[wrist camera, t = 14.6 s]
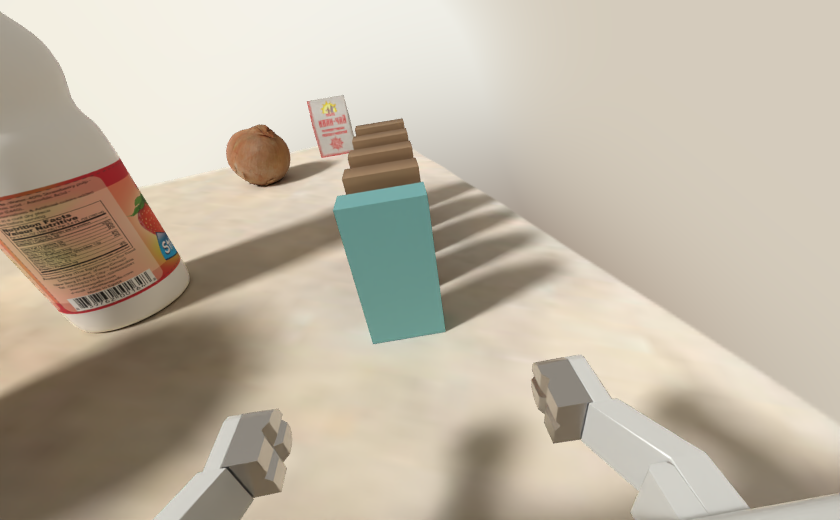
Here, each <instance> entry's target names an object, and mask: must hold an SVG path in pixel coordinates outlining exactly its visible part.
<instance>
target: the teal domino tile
mask: <svg viewBox="0 0 840 520" xmlns="http://www.w3.org/2000/svg"><path fill="white" fill-rule="evenodd" d="M333 212H334V215H335V219H336V222H337V225H338V229H339V232H340V235H341V239H342V242H343V245H344V249H345V252H346V255H347V259H348V262H349V265H350V269H351V272H352V275H353V279H354V282H355V285H356V289H357V292H358V295H359V298H360V302H361V305H362V308H363V312H364V315H365V318H366V322H367V325H368V328H369V332H370V335H371V338H372V342H373V344H377V343H382V342H388V341H394V340H400V339H406V338H412V337H418V336H423V335H429V334H435V333H441V332H446V331H445V324H444V316H443V309H442V301H441V294H440V286H439V279H438V271H437V264H436V256H435V249H434V241H433V234H432V226H431V219H430V211H429V204H428V197H427V192H426V189H425V186H424V183H423V182H420V183H414V184H408V185H402V186H396V187H390V188H384V189H378V190H372V191H366V192H360V193H354V194H348V195H342V196H337V199H336V202H335V206H334V209H333Z"/></svg>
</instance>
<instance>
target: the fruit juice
mask: <svg viewBox="0 0 840 520" xmlns="http://www.w3.org/2000/svg"><path fill="white" fill-rule="evenodd" d="M0 249H1V250H2V251H3V252H4V253H5V254H6V255H7V257H8V258H9V259H10V260H11V261H12V262H13V263H14V264H15V265H16V266H17V267H18V268H19V269H20V270H21V271H22V272H23V274H24V275H25V276H26V277H27V278H28V279H29V280H30V281H31V282H32V283H33V284H34V285H35V286H36V287H37V288H38V290H39V291H40V292H41V293H42V294H43V295H44V296H45V297H46V298H47V299H48V300H49V301H50V302H51V303H52V304H53V305H54V307H55V308H56V309H57V310H58V311H59V312H60V313H61V314H62V315H63V316H64V317H65V318H66V319H67V320H68V321H69V322H70V323H71V324H72V325H74V326H75V327H76V328H78V329H80V330H82V331H85V332H90V333H98V332H107V331H112V330H116V329H119V328H123V327H126V326H129V325H131V324H134V323H136V322H139V321H141V320H143V319H145V318H147V317H149V316H151V315H153V314H155V313H157V312H158V311H160V310H162V309H163V308H165V307H166V306H168V305H169V304H170V303H172V302H173V301H174V300H175V299H177V298H178V297H179V296H180V295H181V294H182V293H183V292H184V290H185V289H186V287H187V286H188V284H189V280H190V277H189V272H188V270H187V267H186V265H185V264H184V262H183V260H182V259H181V257H180V256H179V254H178V252H177V251H176V249H175V247H174V246H173V244H172V243H171V241H170V239H169V238H168V236H167V234H166V233H165V231H164V230H163V228H162V226H161V225H160V223H159V221H158V220H157V218H156V217H155V215H154V213H153V212H152V210H151V208H150V207H149V205H148V204H147V202H146V200H145V199H144V197H143V195H142V194H141V192H140V191H139V189H138V187H137V186H136V184H135V183H134V181H133V179H132V178H131V176H130V174H129V173H128V172H127V169H126V168H125V166H124V165H123V163H122V161H121V159H120V158H119V156H118V154H117V152H116V151H115V149H114V148H113V147H112V145H111V143H110V142H109V141H108V139H107V138H106V136H105V135H104V134H103V132H102V131H101V130H100V128H99V127H98V126H97V125H96V124H95V123H94V122H93V121H92V120H91V119H89V117H87V116H86V115H85V114H83V113H82V112H81V111H80V109H79V108H78V107H77V106H76V105H75V103H74V101H73V100H72V98H71V95H70V92H69V89H68V86H67V82H66V79H65V76H64V73H63V71H62V69H61V67H60V65H59V63H58V62H57V60H56V59H55V57H54V56H53V55H52V53H51V52H50V50H49V49H48V48H47V47H46V46H45V45H44V44H43V42H42V41H40V40H39V39H38V38H37V37H36V36H35V35H34V34H32V33H31V32H29V31H28V30H27V29H25V28H24V27H23V26H21V25H20V24H18V23H17V22H15V21H14V20H12V19H10V18H9V17H7V16H6V15H4V14H2V13H1V12H0Z"/></svg>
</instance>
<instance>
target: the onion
mask: <svg viewBox="0 0 840 520" xmlns="http://www.w3.org/2000/svg"><path fill="white" fill-rule="evenodd" d="M226 152H227V153H226V154H227V160H228V163H229V165H230V167H231V168H232V170H233V171H234V172H235V173H236V174H237V175H239V176H240V177H242V178H243V179H245V181H248V182H249V183H250V184H254V185H255V184H256V185H258V184H259V185H261V186H263V185H266V186H267V185H268V184H272V183H275V182H277V181H279V180H280V179H282V178H283V177H284V176H285V175H286V173H287V171H288V169H289V166H290V152H289V149H288V147H287V145H286V143H285V142H284V141H283V139H282V138H280V137H279V136H278V135H276V134H275V133H274V132H273V131H272V130H271V129H269V128H268V127H267V126H266V125H257V126H254V127H251V128H249V129H246V130H242V131H239V132H237V133H235V134H234V135H233V136H232V137H231V138H230V140H229V142H228V145H227V150H226Z"/></svg>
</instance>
